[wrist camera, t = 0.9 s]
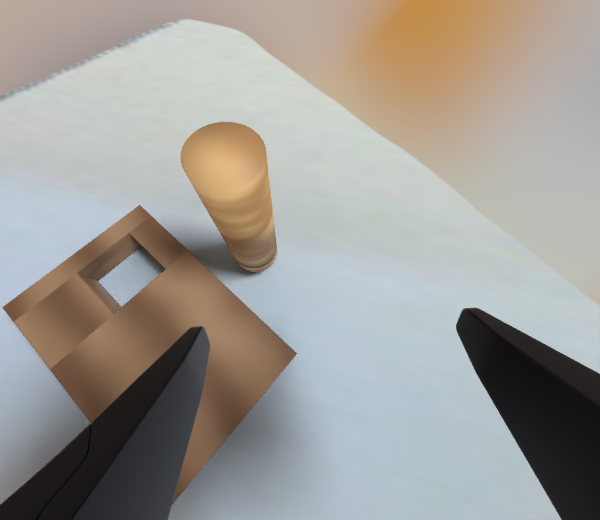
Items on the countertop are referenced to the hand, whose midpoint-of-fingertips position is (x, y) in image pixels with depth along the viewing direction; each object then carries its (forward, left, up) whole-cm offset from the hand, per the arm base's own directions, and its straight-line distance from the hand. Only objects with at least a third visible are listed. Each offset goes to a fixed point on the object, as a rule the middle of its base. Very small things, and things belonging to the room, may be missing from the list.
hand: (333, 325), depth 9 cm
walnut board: (-8, +10, -15) cm, 19 cm away
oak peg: (+3, +9, -15) cm, 17 cm away
